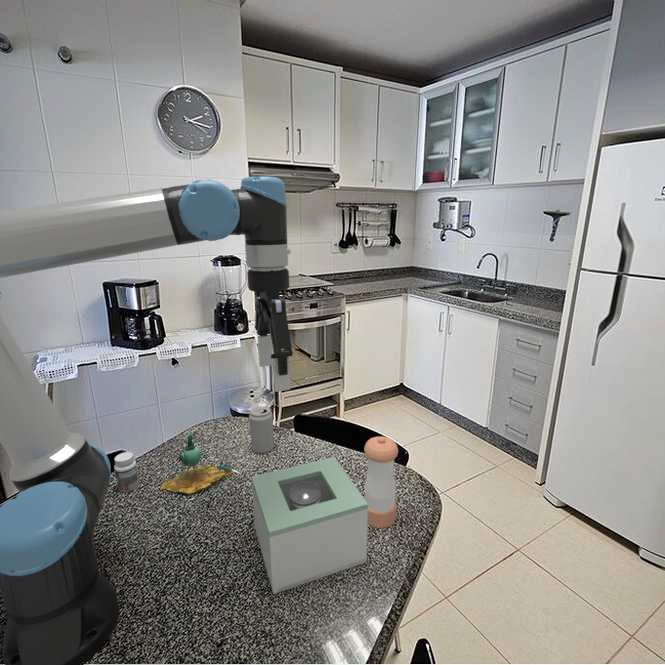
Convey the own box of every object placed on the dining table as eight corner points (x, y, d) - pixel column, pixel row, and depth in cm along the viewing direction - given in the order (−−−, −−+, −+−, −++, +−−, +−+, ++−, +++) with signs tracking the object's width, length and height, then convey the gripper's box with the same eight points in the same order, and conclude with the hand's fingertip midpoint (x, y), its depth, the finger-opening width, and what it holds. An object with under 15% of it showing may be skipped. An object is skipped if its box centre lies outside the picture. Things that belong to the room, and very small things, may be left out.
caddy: (273, 594, 69) (269, 532, 65) (255, 530, 83) (251, 476, 80) (366, 562, 75) (367, 504, 72) (335, 507, 90) (334, 456, 86)
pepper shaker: (367, 530, 83) (368, 449, 78) (359, 506, 90) (360, 430, 85) (400, 525, 84) (404, 445, 79) (390, 502, 91) (393, 427, 86)
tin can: (296, 558, 75) (293, 507, 72) (289, 533, 81) (285, 485, 77) (327, 548, 77) (325, 498, 73) (318, 525, 83) (315, 477, 79)
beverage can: (269, 456, 109) (267, 416, 106) (247, 453, 111) (245, 414, 107) (277, 443, 115) (275, 406, 112) (256, 441, 117) (254, 404, 113)
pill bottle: (120, 482, 99) (115, 452, 97) (141, 478, 100) (136, 449, 98) (116, 494, 95) (110, 463, 92) (137, 490, 96) (132, 460, 94)
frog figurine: (235, 490, 96) (222, 437, 91) (157, 507, 93) (140, 453, 89) (237, 466, 105) (225, 417, 100) (166, 481, 102) (151, 431, 98)
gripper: (309, 275, 63) (312, 399, 68) (272, 261, 85) (277, 355, 91) (261, 278, 60) (269, 406, 66) (236, 262, 82) (243, 359, 88)
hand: (273, 377), depth 78 cm, fingers open, 13 cm apart
